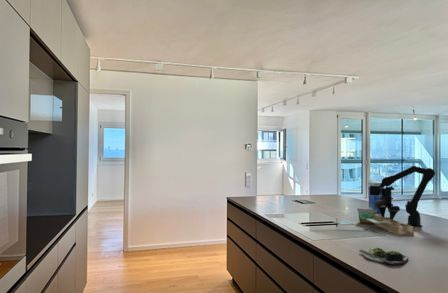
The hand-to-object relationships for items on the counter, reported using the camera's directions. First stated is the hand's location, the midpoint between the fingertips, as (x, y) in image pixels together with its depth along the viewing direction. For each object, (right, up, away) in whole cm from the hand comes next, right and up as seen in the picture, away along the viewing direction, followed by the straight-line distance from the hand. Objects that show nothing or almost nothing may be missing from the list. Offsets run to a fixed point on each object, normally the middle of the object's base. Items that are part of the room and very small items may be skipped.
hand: (387, 219), depth 206 cm
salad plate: (-37, -2, -69) cm, 78 cm away
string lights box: (+3, -3, +20) cm, 21 cm away
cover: (-14, +2, -16) cm, 21 cm away
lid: (0, -3, 0) cm, 3 cm away
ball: (-4, 0, -22) cm, 23 cm away
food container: (-15, -3, -3) cm, 15 cm away
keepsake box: (-6, -2, -20) cm, 21 cm away
